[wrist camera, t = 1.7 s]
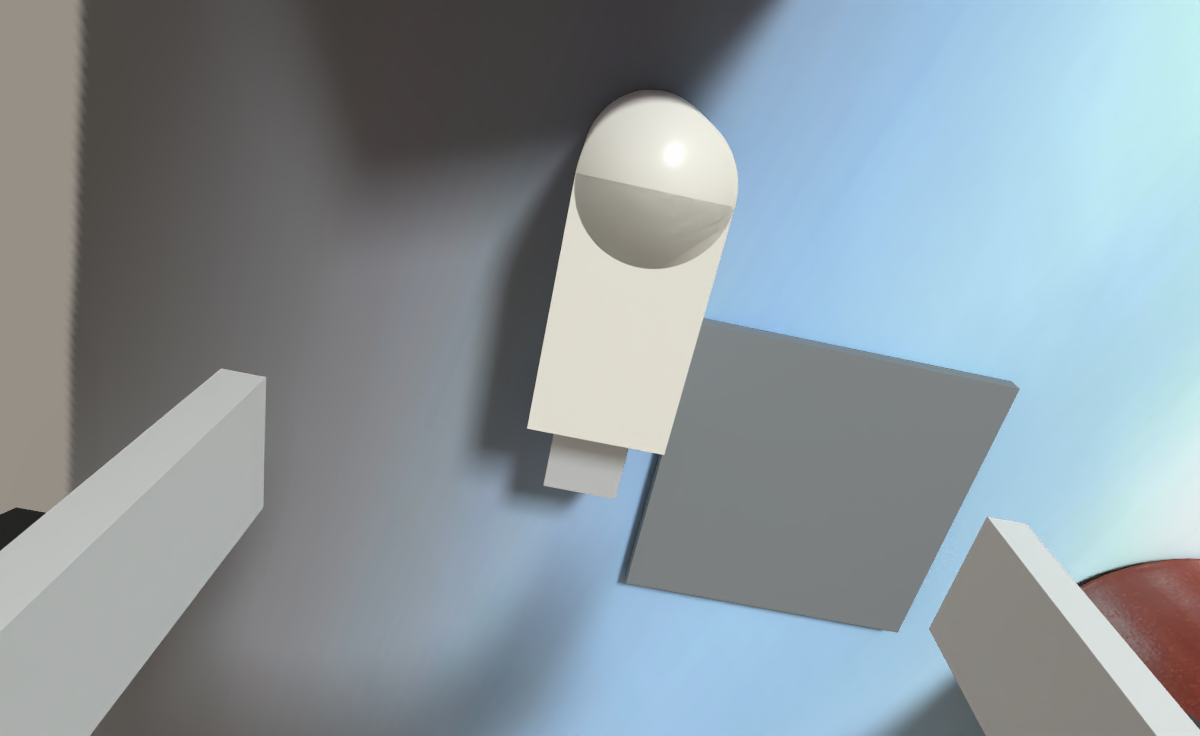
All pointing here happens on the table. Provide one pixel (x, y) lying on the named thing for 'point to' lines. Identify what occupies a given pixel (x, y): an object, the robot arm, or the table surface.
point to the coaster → (812, 475)
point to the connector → (631, 286)
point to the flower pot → (1158, 621)
